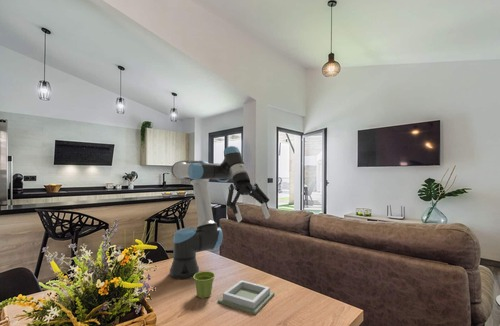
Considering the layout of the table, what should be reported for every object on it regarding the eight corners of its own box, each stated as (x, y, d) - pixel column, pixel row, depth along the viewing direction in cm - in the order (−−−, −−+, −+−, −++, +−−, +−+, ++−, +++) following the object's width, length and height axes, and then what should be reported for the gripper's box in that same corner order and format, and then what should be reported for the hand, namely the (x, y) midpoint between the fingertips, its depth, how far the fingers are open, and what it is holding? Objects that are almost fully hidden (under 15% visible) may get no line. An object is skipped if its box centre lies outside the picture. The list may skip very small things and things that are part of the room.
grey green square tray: (217, 302, 108) (217, 294, 108) (240, 285, 124) (240, 278, 124) (255, 314, 99) (255, 305, 99) (274, 294, 115) (274, 286, 115)
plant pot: (210, 301, 109) (210, 281, 109) (189, 299, 111) (189, 278, 111) (217, 291, 118) (217, 272, 118) (198, 289, 120) (198, 270, 120)
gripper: (217, 171, 106) (231, 217, 96) (266, 171, 120) (283, 212, 109) (211, 181, 111) (223, 226, 101) (258, 180, 125) (274, 220, 114)
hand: (254, 219), depth 105 cm, fingers open, 13 cm apart
